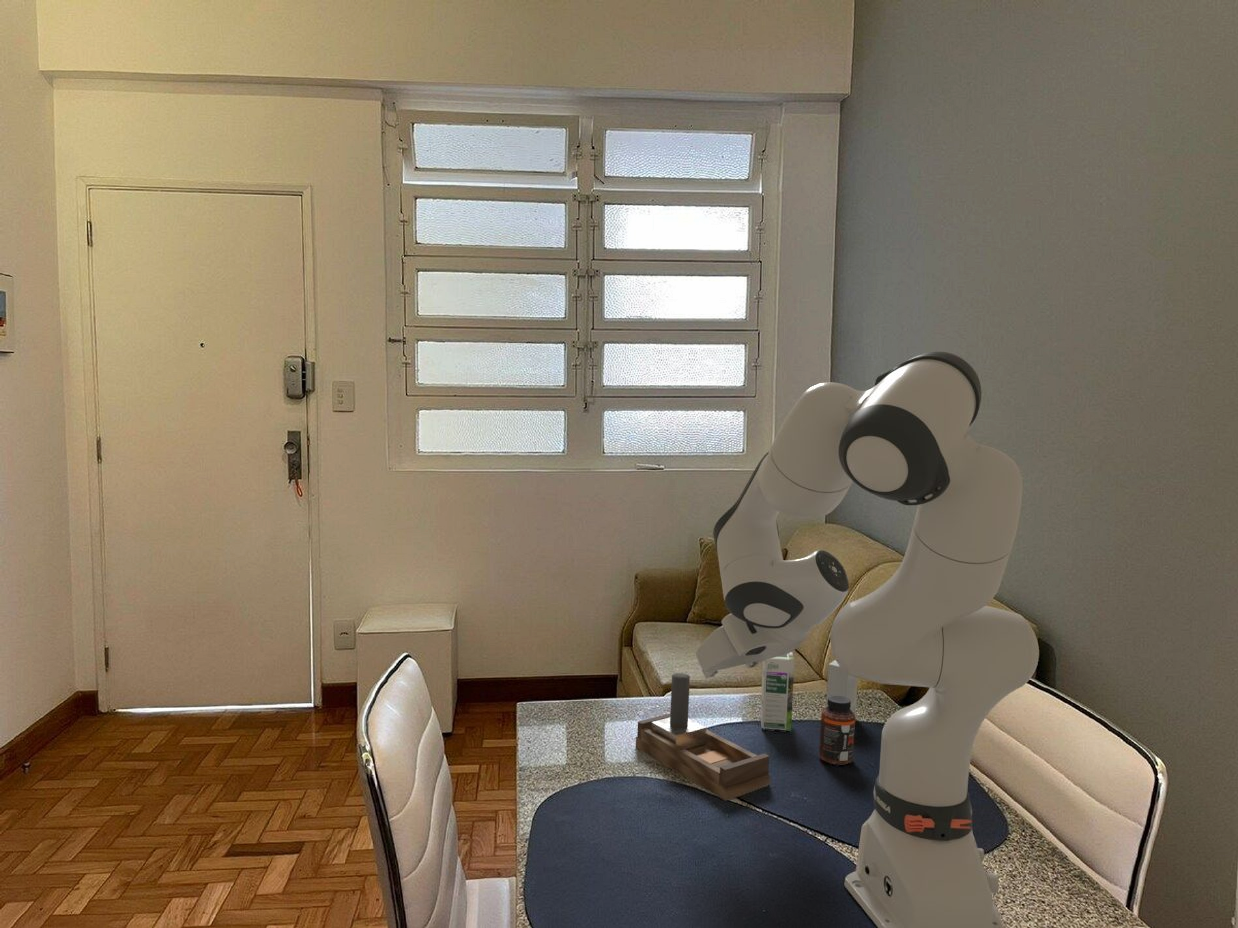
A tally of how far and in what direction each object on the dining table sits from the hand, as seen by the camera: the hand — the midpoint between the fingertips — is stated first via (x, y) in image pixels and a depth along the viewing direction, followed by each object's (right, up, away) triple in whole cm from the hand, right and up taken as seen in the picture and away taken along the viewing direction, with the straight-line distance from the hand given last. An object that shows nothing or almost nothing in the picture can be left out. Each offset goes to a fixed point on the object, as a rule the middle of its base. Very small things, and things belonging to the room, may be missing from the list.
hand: (727, 668), depth 144 cm
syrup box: (+13, -18, +26) cm, 34 cm away
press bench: (-4, -19, +7) cm, 20 cm away
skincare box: (+26, -18, +30) cm, 44 cm away
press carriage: (-8, -16, +11) cm, 21 cm away
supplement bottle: (+21, -19, +11) cm, 31 cm away
